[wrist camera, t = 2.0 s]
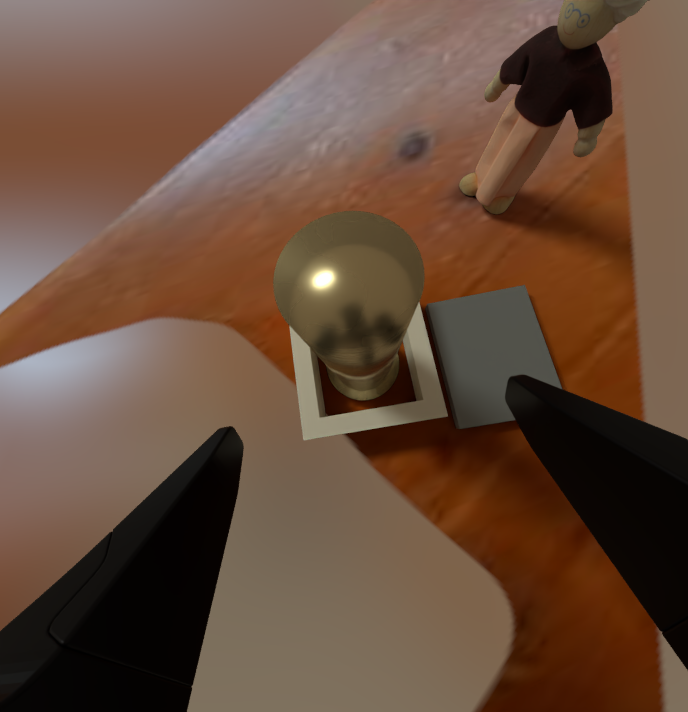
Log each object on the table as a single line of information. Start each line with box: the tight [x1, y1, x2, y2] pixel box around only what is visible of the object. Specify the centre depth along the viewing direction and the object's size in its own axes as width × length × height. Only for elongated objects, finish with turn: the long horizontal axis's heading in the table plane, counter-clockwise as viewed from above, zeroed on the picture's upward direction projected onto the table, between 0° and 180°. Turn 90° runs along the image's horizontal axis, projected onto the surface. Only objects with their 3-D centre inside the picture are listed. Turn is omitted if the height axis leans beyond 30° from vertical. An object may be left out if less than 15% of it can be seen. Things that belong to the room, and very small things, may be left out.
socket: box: [290, 303, 448, 440], centre depth 18 cm, size 9×9×2 cm
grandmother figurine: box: [460, 0, 648, 214], centre depth 15 cm, size 8×4×13 cm, turn 51°
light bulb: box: [273, 211, 424, 400], centre depth 13 cm, size 5×5×13 cm
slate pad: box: [425, 285, 562, 429], centre depth 18 cm, size 9×7×1 cm
